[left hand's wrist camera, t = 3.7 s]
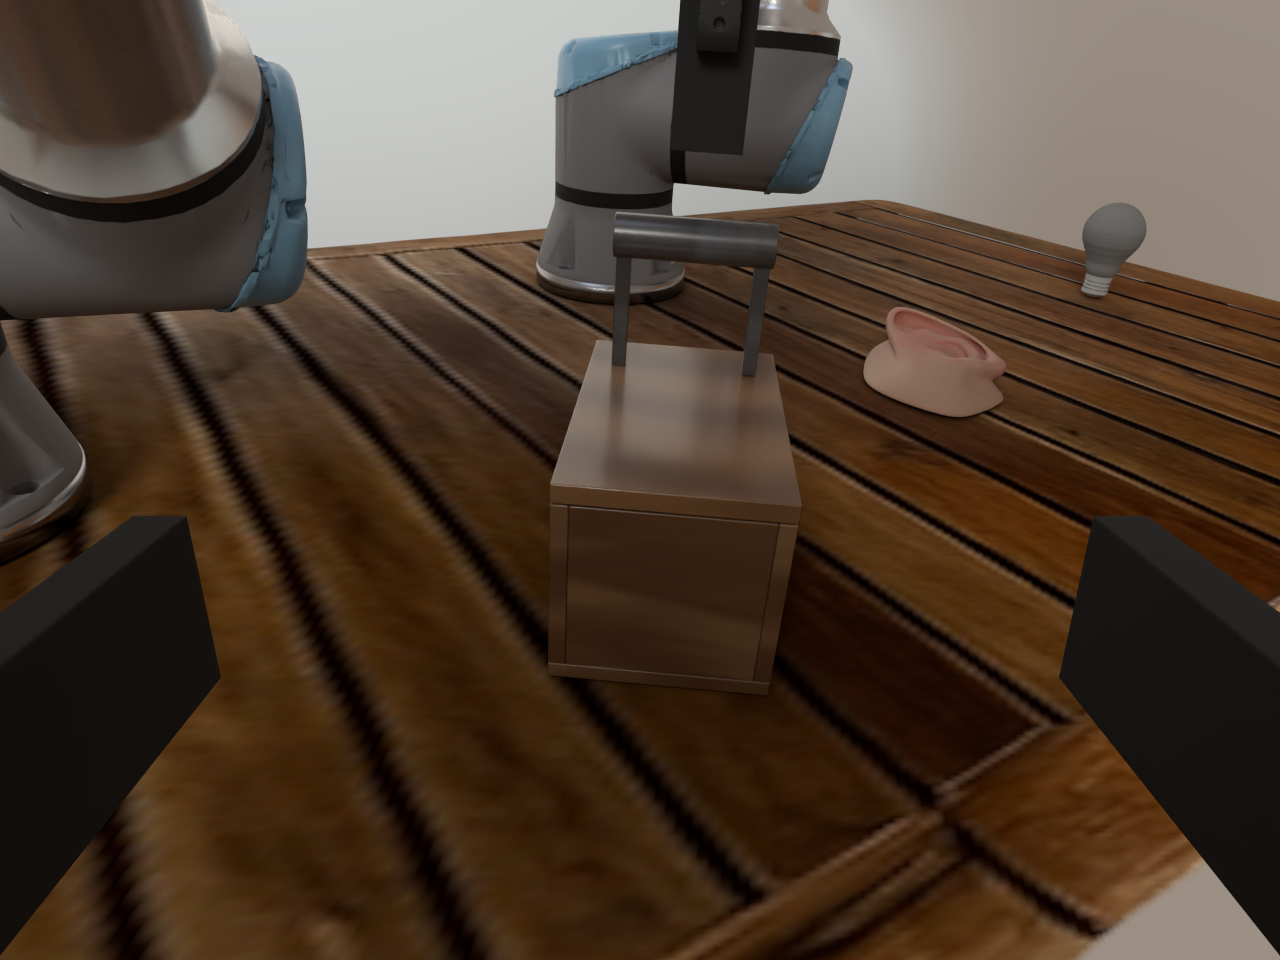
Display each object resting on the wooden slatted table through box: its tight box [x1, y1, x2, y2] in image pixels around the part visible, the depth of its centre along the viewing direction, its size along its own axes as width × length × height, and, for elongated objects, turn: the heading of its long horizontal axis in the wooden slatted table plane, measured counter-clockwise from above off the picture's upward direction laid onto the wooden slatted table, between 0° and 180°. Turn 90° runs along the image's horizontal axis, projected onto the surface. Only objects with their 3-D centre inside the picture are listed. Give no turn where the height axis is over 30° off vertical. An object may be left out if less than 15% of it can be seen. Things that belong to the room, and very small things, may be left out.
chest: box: [548, 503, 798, 695], centre depth 41 cm, size 15×10×9 cm, turn 176°
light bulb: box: [1081, 203, 1146, 297], centre depth 92 cm, size 6×6×10 cm
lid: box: [550, 212, 802, 524], centre depth 37 cm, size 16×10×8 cm, turn 176°
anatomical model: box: [864, 307, 1006, 417], centre depth 68 cm, size 13×4×12 cm
